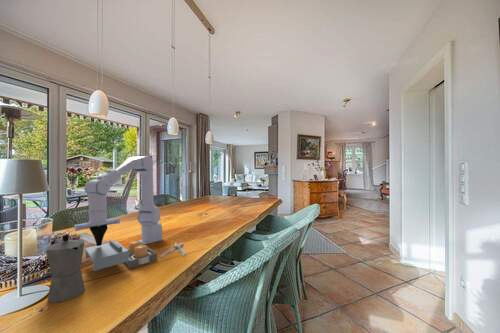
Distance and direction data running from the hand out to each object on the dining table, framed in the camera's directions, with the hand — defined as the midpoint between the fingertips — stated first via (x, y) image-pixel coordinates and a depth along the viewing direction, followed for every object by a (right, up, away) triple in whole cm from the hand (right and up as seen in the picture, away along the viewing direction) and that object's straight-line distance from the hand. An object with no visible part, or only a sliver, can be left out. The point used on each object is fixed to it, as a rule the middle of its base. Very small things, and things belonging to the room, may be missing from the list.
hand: (98, 245), depth 87 cm
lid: (+5, -4, -3) cm, 7 cm away
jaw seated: (+15, -7, +2) cm, 17 cm away
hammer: (+25, -8, +14) cm, 30 cm away
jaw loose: (+10, -7, +8) cm, 15 cm away
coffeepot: (+3, -8, -19) cm, 21 cm away
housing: (+13, -8, +5) cm, 16 cm away
